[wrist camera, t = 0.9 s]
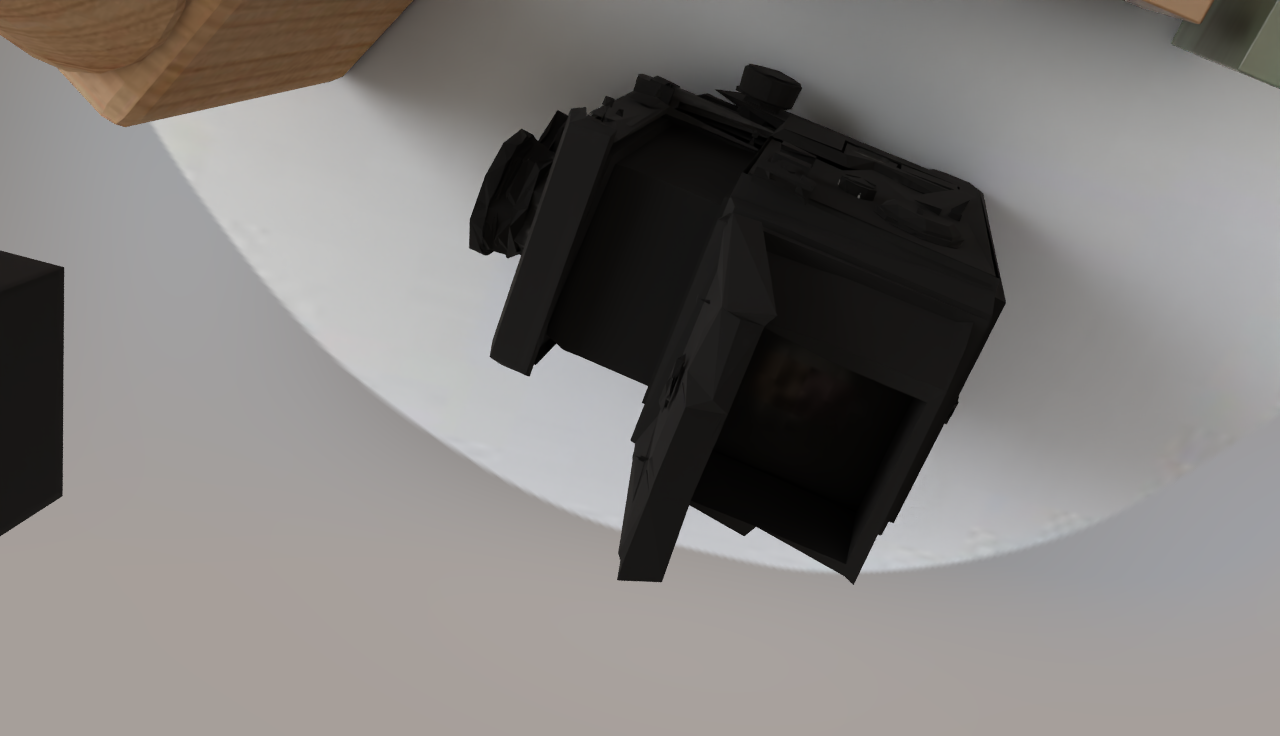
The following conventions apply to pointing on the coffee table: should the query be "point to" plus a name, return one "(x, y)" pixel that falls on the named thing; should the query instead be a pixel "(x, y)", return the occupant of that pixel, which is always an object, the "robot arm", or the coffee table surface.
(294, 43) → the decorative item
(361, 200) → the coffee table surface
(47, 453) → the robot arm
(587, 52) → the coffee table surface
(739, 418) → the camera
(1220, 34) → the drawer
